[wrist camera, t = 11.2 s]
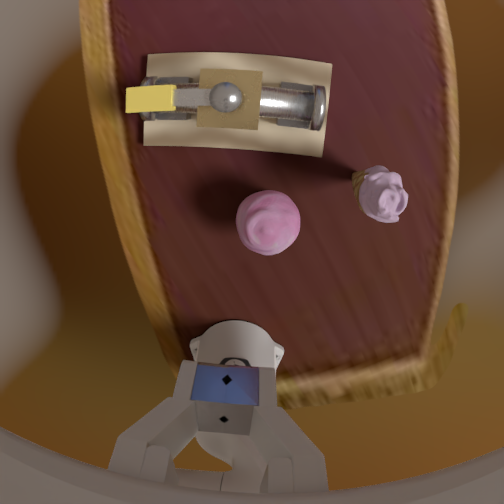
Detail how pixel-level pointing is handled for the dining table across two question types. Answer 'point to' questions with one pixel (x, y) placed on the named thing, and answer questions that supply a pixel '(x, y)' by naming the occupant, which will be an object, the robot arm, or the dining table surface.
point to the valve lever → (182, 98)
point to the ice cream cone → (379, 193)
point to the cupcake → (268, 222)
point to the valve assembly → (253, 102)
